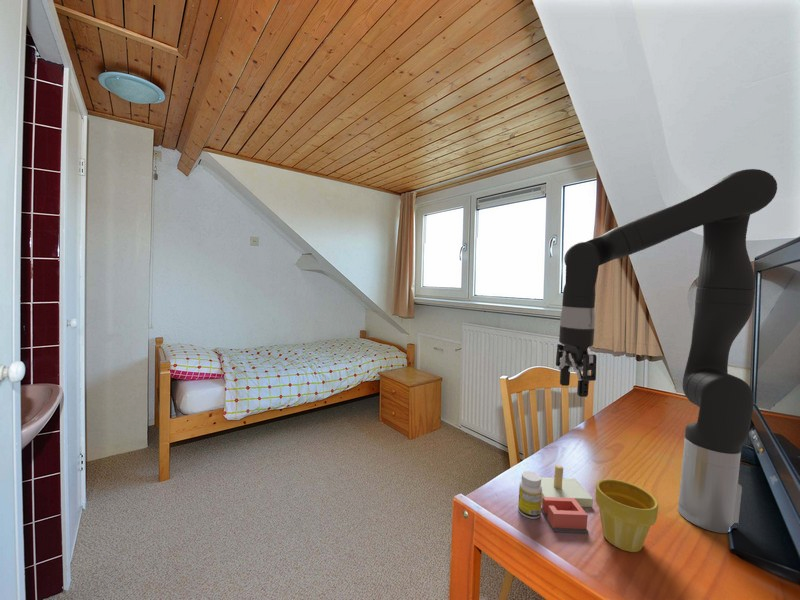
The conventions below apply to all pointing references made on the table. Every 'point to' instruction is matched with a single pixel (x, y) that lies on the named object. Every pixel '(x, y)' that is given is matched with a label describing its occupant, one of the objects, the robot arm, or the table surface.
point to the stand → (565, 488)
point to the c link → (564, 513)
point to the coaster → (567, 530)
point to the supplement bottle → (530, 495)
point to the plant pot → (625, 513)
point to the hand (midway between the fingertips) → (572, 390)
